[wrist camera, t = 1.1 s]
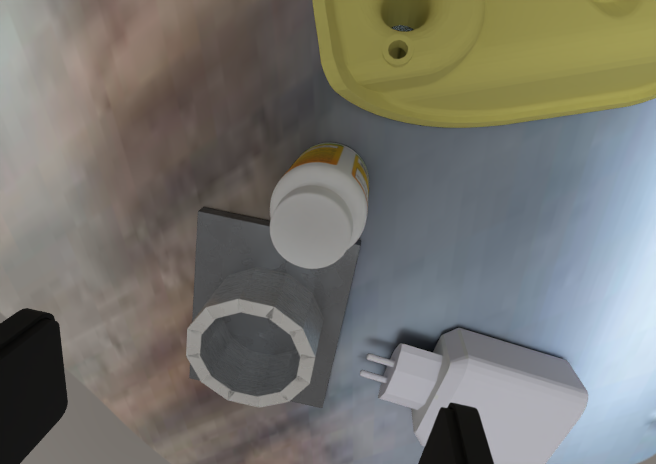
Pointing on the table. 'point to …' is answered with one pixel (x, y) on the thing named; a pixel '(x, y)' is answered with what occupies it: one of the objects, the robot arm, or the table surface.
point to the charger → (487, 392)
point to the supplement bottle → (320, 206)
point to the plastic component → (488, 57)
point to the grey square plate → (262, 314)
